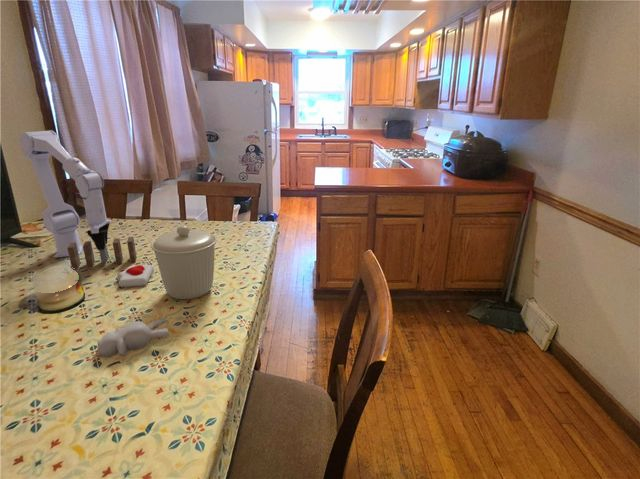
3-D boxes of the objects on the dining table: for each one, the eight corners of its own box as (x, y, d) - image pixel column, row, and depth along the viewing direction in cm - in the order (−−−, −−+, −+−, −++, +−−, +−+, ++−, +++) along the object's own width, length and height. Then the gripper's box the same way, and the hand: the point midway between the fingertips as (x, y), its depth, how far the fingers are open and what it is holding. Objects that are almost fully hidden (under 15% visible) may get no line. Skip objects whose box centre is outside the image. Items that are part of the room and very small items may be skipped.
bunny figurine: (95, 329, 90) (161, 308, 96) (102, 346, 92) (166, 324, 98) (94, 351, 82) (167, 326, 88) (102, 369, 84) (172, 344, 90)
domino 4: (130, 262, 135) (127, 241, 132) (131, 257, 140) (128, 237, 137) (135, 262, 136) (132, 241, 133) (136, 257, 140) (133, 236, 137)
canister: (231, 283, 121) (227, 220, 114) (197, 311, 105) (189, 240, 98) (184, 274, 127) (177, 214, 119) (144, 300, 111) (133, 231, 103)
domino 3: (116, 264, 134) (112, 243, 131) (118, 259, 138) (114, 238, 135) (121, 263, 134) (117, 242, 131) (123, 258, 139) (119, 238, 136)
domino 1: (72, 269, 129) (67, 247, 126) (75, 263, 133) (70, 242, 131) (77, 269, 130) (72, 247, 127) (80, 263, 134) (75, 242, 131)
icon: (121, 261, 127) (153, 259, 129) (123, 272, 128) (154, 270, 130) (110, 277, 116) (145, 274, 117) (112, 289, 117) (147, 287, 119)
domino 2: (87, 267, 131) (82, 246, 128) (90, 262, 135) (85, 241, 132) (92, 267, 131) (88, 245, 128) (95, 261, 136) (90, 240, 133)
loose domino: (101, 262, 132) (97, 240, 129) (103, 257, 136) (99, 236, 133) (106, 261, 132) (102, 240, 129) (108, 256, 137) (104, 235, 134)
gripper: (105, 213, 123) (112, 252, 127) (111, 202, 135) (117, 238, 140) (80, 215, 120) (88, 255, 125) (88, 204, 133) (96, 240, 138)
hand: (102, 246), depth 132 cm, fingers closed on loose domino, 5 cm apart
